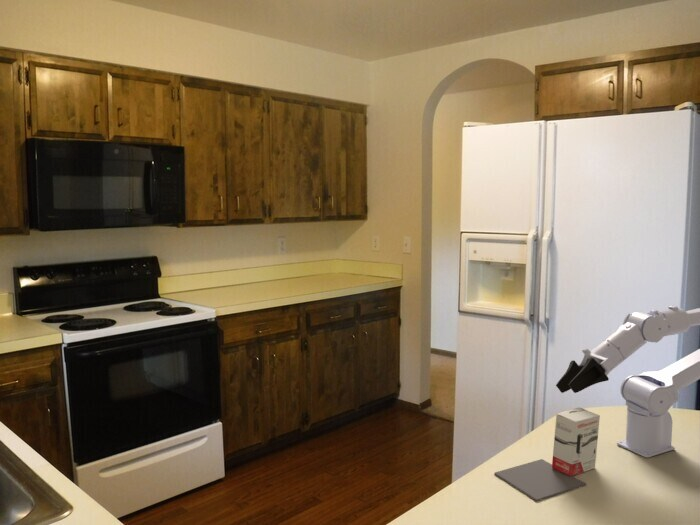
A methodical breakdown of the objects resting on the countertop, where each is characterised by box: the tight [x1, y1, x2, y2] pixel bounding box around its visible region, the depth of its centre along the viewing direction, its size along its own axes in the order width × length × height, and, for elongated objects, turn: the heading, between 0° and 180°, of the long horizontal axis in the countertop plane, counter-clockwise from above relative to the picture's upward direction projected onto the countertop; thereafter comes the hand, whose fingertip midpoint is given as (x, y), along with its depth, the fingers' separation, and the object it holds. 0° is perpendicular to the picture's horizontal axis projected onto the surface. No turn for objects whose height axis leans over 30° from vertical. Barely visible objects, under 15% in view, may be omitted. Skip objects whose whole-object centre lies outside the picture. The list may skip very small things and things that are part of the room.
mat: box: [494, 458, 587, 502], centre depth 119 cm, size 13×12×1 cm
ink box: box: [551, 407, 601, 477], centre depth 123 cm, size 8×5×12 cm, turn 124°
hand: (565, 389), depth 126 cm, fingers open, 7 cm apart
